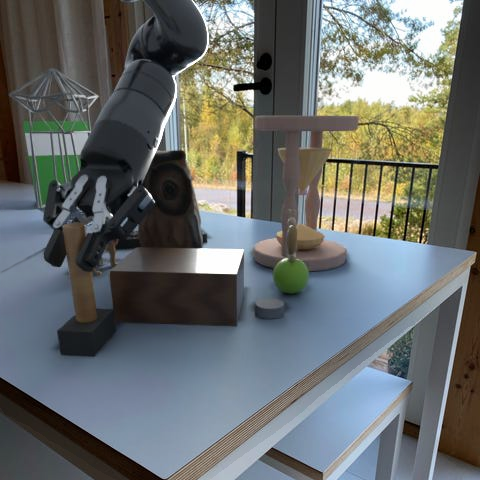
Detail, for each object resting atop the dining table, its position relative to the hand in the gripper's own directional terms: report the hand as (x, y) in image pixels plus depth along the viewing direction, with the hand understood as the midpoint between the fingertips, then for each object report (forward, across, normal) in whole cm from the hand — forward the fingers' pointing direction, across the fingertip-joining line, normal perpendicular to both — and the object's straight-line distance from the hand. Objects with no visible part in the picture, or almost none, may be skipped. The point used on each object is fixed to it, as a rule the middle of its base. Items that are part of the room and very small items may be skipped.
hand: (67, 265), depth 51 cm
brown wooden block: (-4, +5, +19) cm, 20 cm away
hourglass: (-26, +12, +41) cm, 50 cm away
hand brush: (+6, 0, +8) cm, 10 cm away
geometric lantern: (-32, -50, +46) cm, 76 cm away
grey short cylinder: (-7, +16, +19) cm, 26 cm away
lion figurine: (-11, -19, +26) cm, 34 cm away
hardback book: (-47, -71, +62) cm, 105 cm away
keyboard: (-26, -25, +40) cm, 53 cm away
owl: (-18, -7, +32) cm, 38 cm away
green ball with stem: (-13, +16, +28) cm, 34 cm away
